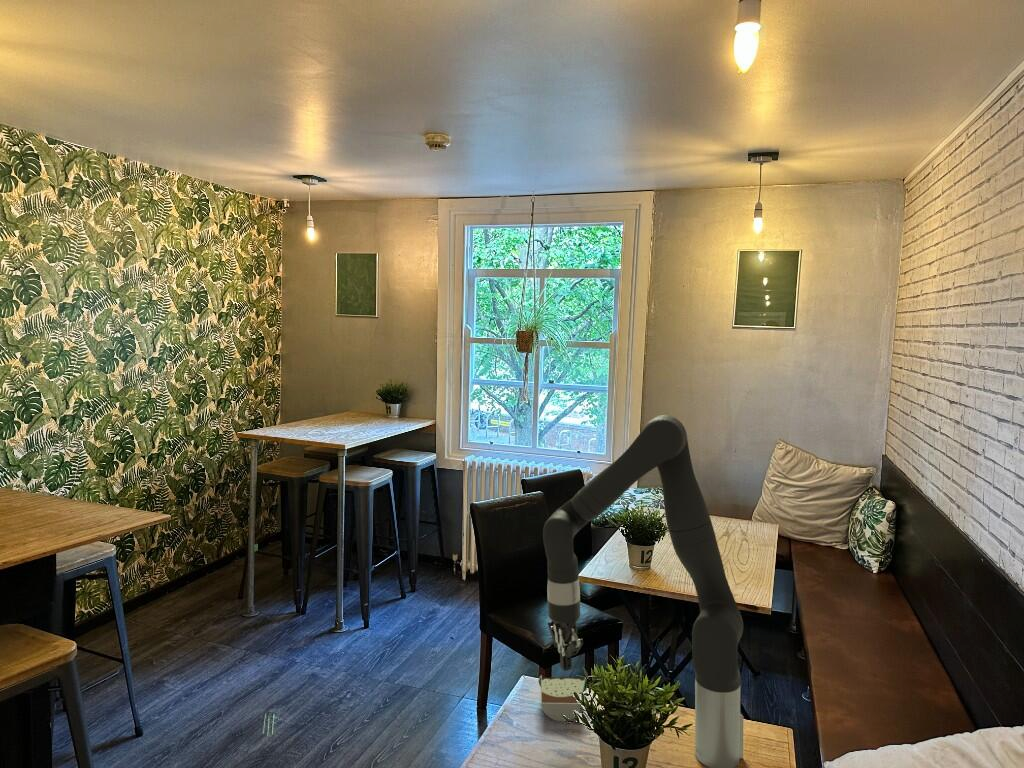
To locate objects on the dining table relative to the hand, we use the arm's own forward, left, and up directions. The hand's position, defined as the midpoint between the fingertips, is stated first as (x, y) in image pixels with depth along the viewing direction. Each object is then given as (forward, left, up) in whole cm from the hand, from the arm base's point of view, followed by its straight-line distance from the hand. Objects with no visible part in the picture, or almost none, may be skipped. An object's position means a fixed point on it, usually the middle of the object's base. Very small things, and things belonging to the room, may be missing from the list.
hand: (566, 668), depth 153 cm
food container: (+1, -1, -12) cm, 12 cm away
